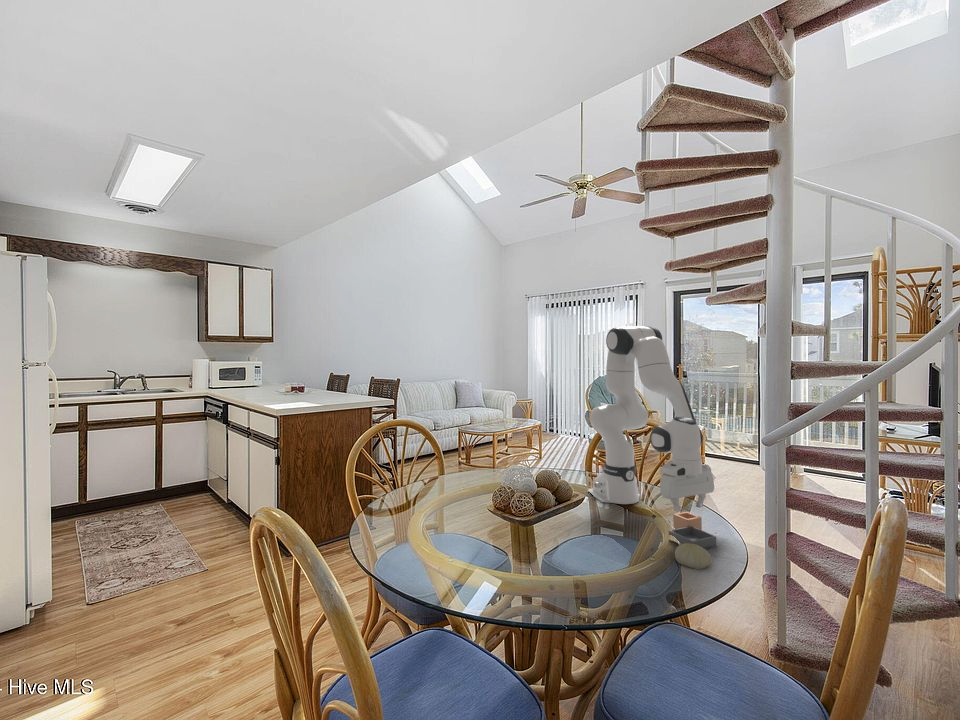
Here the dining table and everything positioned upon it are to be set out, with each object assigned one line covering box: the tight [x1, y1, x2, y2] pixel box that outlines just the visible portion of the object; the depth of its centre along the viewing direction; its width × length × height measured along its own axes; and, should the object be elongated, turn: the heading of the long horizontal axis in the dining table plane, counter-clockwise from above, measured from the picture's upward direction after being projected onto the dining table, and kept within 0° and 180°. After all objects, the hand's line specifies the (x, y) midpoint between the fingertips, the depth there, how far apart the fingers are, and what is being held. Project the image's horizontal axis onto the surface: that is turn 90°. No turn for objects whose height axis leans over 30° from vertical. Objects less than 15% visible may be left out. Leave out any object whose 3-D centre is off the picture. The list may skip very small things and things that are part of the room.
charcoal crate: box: [668, 526, 717, 550], centre depth 137 cm, size 9×9×3 cm
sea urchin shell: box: [674, 543, 713, 570], centre depth 123 cm, size 9×8×8 cm
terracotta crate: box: [672, 511, 703, 531], centre depth 146 cm, size 6×6×5 cm
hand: (688, 508), depth 146 cm, fingers open, 8 cm apart
